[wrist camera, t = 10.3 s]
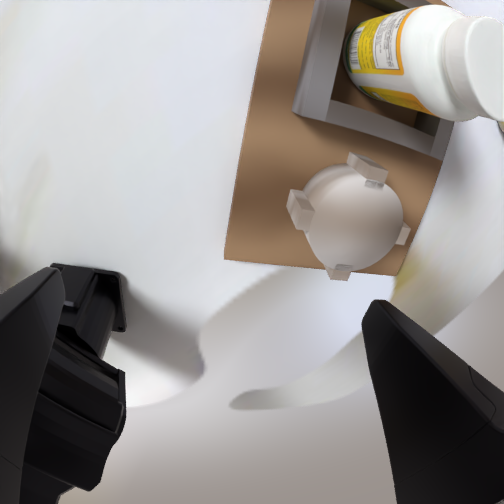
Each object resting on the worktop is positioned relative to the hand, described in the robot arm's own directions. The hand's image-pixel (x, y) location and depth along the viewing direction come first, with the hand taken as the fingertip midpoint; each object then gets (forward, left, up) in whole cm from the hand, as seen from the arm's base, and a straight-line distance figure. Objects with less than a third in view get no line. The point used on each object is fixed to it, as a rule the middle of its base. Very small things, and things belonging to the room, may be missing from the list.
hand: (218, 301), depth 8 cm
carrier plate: (+5, -8, -12) cm, 15 cm away
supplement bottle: (+9, -8, -11) cm, 16 cm away
